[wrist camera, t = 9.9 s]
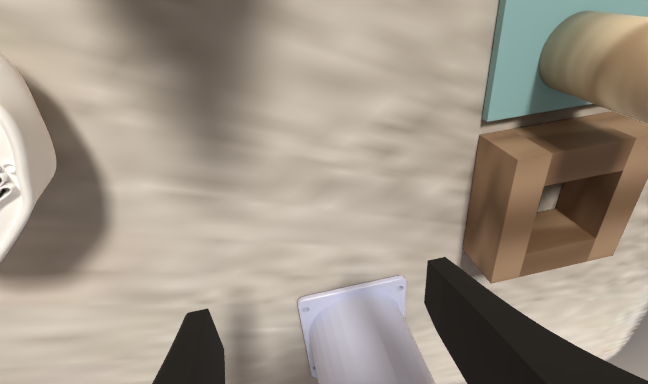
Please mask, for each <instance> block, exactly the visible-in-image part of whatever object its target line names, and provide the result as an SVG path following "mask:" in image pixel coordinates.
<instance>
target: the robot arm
mask: <svg viewBox="0 0 648 384" xmlns="http://www.w3.org/2000/svg"><path fill="white" fill-rule="evenodd" d="M406 284H407V282H406V279H405V277H404V276H401V275H399V276H394V277H390V278H385V279H381V280H376V281H371V282H367V283H362V284H358V285H353V286H349V287H344V288H340V289H335V290H331V291H326V292H322V293H317V294H312V295H308V296H303V297H301V298H300V299H299V300H298V302H297V303H298V309H299V314H300V319H301V324H302V329H303V335H304V340H305V345H306V350H307V355H308V360H309V365H310V370H311V376H312V377H314V378H317V379H318V384H435V382H434V380H433V378H432V375H431V373H430V371H429V369H428V367H427V365H426V363H425V361H424V359H423V357H422V355H421V352H420V350H419V348H418V346H417V344H416V342H415V340H414V338H413V336H412V334H411V332H410V329H409V327H408V325H407V323H406V321H405V308H406ZM399 286H400V287H399ZM424 303H425V305H426V308H427V310H428V313H429V315H430V317H431V319H432V322H433V324H434V326H435V328H436V330H437V332H438V334H439V336H440V338H441V339H442V341H443V343H444V345H445V346H446V348H447V350H448V351H449V353H450V355H451V357H452V358H453V360H454V362H455V363H456V365H457V367H458V368H459V370H460V372H461V374H462V375H463V377H464V379H465V380H466V382H467V384H648V381H647V380H644V379H642V378H640V377H638V376H635V375H633V374H631V373H629V372H627V371H625V370H623V369H620V368H618V367H616V366H614V365H612V364H610V363H608V362H606V361H604V360H602V359H600V358H598V357H596V356H594V355H592V354H590V353H589V352H587V351H585V350H583V349H581V348H579V347H577V346H575V345H574V344H572V343H570V342H568V341H567V340H565V339H563V338H561V337H560V336H558V335H556V334H554V333H553V332H551V331H549V330H548V329H546V328H544V327H543V326H541V325H539V324H538V323H536V322H535V321H533V320H532V319H530V318H528V317H527V316H525V315H524V314H522V313H521V312H519V311H518V310H516V309H515V308H513V307H512V306H510V305H509V304H508V303H506V302H505V301H503V300H502V299H501V298H499V297H498V296H496V295H495V294H493V293H492V292H491V291H489V290H488V289H487V288H485V287H484V286H483V285H481V284H480V283H479V282H477V281H476V280H475V279H473V278H472V277H471V276H469V275H468V274H467V273H465V272H464V271H463V270H462V269H460V268H459V267H458V266H456V265H455V264H454V263H452V262H451V261H450V260H448V259H447V258H446V257H443V258H438V259H434V260H429V261H428V265H427V277H426V289H425V301H424ZM305 307H307V308H305ZM152 384H225V361H224V348H223V345H222V343H221V340H220V338H219V335H218V332H217V330H216V327H215V325H214V322H213V320H212V317H211V315H210V312H209V310H208V309H204V310H199V311H194V312H190V313H187V315H186V316H185V318H184V320H183V322H182V325H181V327H180V329H179V331H178V333H177V336H176V338H175V340H174V342H173V344H172V346H171V348H170V350H169V352H168V354H167V356H166V358H165V360H164V362H163V364H162V366H161V368H160V370H159V372H158V374H157V376H156V378H155V379H154V381H153V383H152Z"/></svg>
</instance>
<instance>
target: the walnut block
mask: <svg viewBox="0 0 648 384" xmlns="http://www.w3.org/2000/svg"><path fill="white" fill-rule="evenodd" d="M647 179H648V124H646V123H643V122H640V121H637V120H635V119H632V118H629V117H626V116H624V115H621V114H618V113H615V112H613V111H612V112H606V113H601V114H595V115H589V116H584V117H578V118H572V119H567V120H561V121H555V122H550V123H544V124H538V125H533V126H527V127H521V128H516V129H510V130H504V131H499V132H493V133H487V134H482V135H480V136H479V143H478V150H477V156H476V163H475V170H474V177H473V183H472V190H471V197H470V203H469V210H468V217H467V223H466V230H465V237H464V243H463V250H464V251H465V252H466V254H467V255H468V256H469V257H470V259H471V260H472V261H473V262H474V264H475V265H476V266H477V267H478V268H479V270H480V271H481V272H482V273H483V275H484V276H485V277H486V278H487V279H488V281H489V282H490V283H495V282H500V281H504V280H508V279H513V278H517V277H521V276H526V275H530V274H535V273H539V272H543V271H548V270H552V269H556V268H561V267H565V266H569V265H574V264H578V263H582V262H587V261H591V260H595V259H600V258H604V257H608V256H613V254H614V252H615V250H616V248H617V245H618V243H619V241H620V239H621V236H622V234H623V232H624V230H625V227H626V225H627V223H628V221H629V219H630V216H631V214H632V212H633V210H634V207H635V205H636V203H637V201H638V199H639V196H640V194H641V192H642V190H643V187H644V185H645V183H646V181H647ZM562 182H564V183H563V186H562V190H561V193H560V196H559V199H558V203H557V206H556V209H552V210H547V211H542V212H537V209H538V206H539V202H540V199H541V195H542V191H543V188H544V186H547V185H552V184H557V183H562Z"/></svg>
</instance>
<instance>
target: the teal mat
mask: <svg viewBox="0 0 648 384" xmlns="http://www.w3.org/2000/svg"><path fill="white" fill-rule="evenodd" d="M582 11H596V12H606V13H615V14H625V15H634V16H644V17H648V0H500V3H499V9H498V16H497V23H496V29H495V36H494V43H493V49H492V56H491V63H490V69H489V76H488V83H487V90H486V96H485V103H484V110H483V116H482V119H483V120H485V121H487V122H489V121H495V120H501V119H506V118H512V117H518V116H524V115H530V114H536V113H541V112H547V111H553V110H559V109H565V108H570V107H576V106H582V105H588V104H593V103H590V102H587V101H585V100H582V99H579V98H577V97H574V96H571V95H568V94H566V93H563V92H560V91H557V90H555V89H552V88H550V87H548V86H546V85H545V84H544V83H543V81H542V80H541V77H540V74H539V59H540V54H541V51H542V49H543V46H544V44H545V42H546V40H547V39H548V37H549V36H550V34H551V33H552V32H553V30H554V29H555V28H556V27H557V26H558V25H559V24H560V23H561V22H562V21H564V20H565V19H566V18H568V17H569V16H571V15H573V14H575V13H578V12H582Z"/></svg>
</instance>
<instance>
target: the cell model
mask: <svg viewBox="0 0 648 384" xmlns="http://www.w3.org/2000/svg"><path fill="white" fill-rule="evenodd" d="M55 171H56V155H55V150H54V147H53V144H52V141H51V138H50V135H49V133H48V130H47V128H46V125H45V123H44V121H43V119H42V117H41V114H40V112H39V110H38V108H37V106H36V104H35V101H34V99H33V97H32V95H31V93H30V91H29V89H28V87H27V85H26V83H25V81H24V79H23V78H22V76H21V75H20V73H19V72H18V71H17V69H16V68H15V67H14V66H13V65H12V64H11V62H10V61H9V60H8V59H6V58H5V57H4V56H3V55H2V54H1V53H0V262H1V261H2V260H3V259H4V257H5V256H6V255H7V253H8V252H9V250H10V249H11V247H12V246H13V244H14V243H15V241H16V240H17V238H18V237H19V235H20V233H21V232H22V230H23V228H24V227H25V225H26V223H27V222H28V220H29V218H30V215H31V212H32V210H33V208H34V206H35V204H36V202H37V200H38V198H39V197H40V195H41V194H42V192H43V191H44V190H45V188H46V187H47V185H48V184H49V182H50V181H51V179H52V178H53V176H54V174H55Z"/></svg>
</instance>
